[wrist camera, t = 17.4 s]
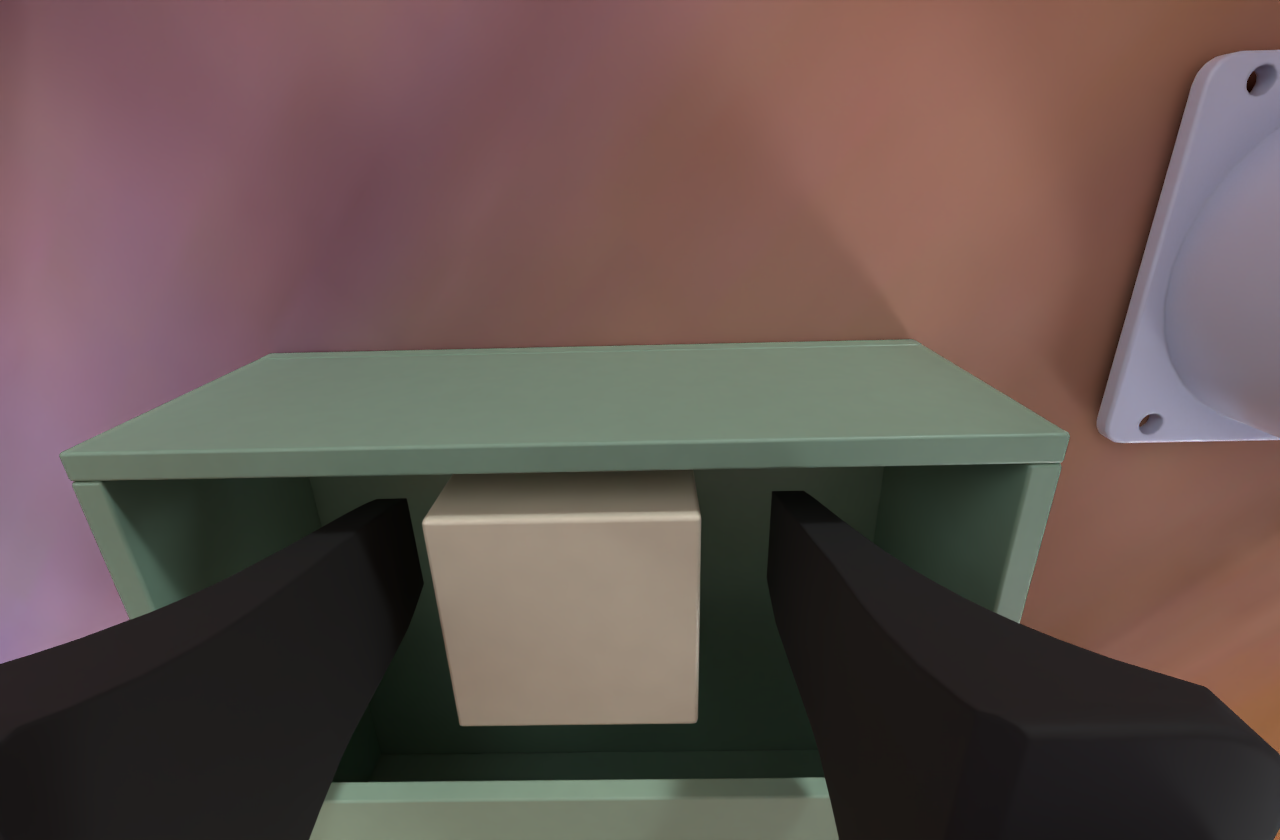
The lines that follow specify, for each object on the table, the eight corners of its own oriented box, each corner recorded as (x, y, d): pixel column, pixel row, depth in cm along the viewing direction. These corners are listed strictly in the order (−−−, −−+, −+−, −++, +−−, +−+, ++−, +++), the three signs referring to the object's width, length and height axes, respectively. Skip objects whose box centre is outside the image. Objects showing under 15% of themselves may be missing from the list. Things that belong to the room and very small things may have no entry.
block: (683, 403, 14) (702, 517, 9) (682, 562, 16) (698, 725, 11) (493, 407, 14) (419, 522, 9) (513, 564, 16) (458, 728, 11)
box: (914, 338, 14) (1073, 433, 9) (852, 745, 19) (930, 959, 14) (269, 353, 14) (55, 452, 9) (375, 751, 19) (276, 962, 14)
